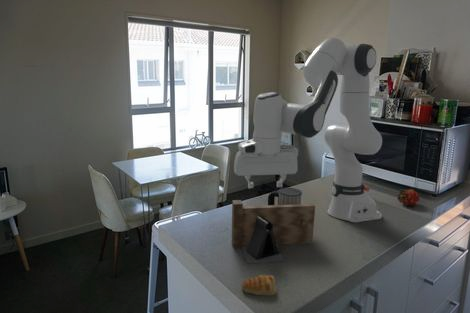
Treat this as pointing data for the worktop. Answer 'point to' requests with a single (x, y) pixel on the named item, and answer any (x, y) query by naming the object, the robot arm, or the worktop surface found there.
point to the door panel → (273, 222)
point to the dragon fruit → (408, 197)
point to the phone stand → (263, 240)
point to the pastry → (260, 285)
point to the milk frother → (285, 196)
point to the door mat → (268, 259)
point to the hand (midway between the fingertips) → (265, 187)
